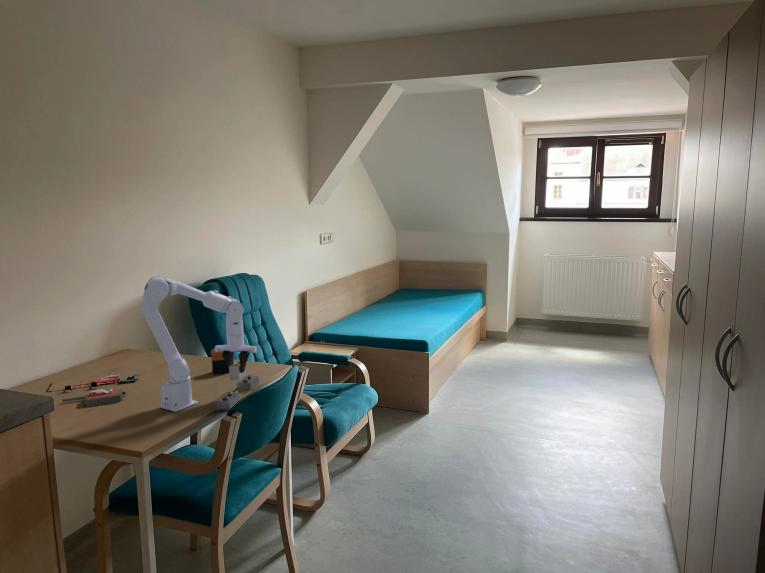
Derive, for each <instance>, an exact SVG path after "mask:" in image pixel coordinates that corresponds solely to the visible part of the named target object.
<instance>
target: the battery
mask: <svg viewBox="0 0 765 573" xmlns="http://www.w3.org/2000/svg"><path fill="white" fill-rule="evenodd" d="M210 350H211V351H210V355H211V368H212V371H211V372H212V374H213V375H220V373H222V374H228V373H229V368H228V366H227V363H226V361H225V360H224V358H223V357H222V354H223V352H222V351H219V352H215V348H213V349H210ZM229 374H230V373H229Z"/></svg>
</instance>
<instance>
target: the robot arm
mask: <svg viewBox="0 0 765 573" xmlns="http://www.w3.org/2000/svg"><path fill="white" fill-rule="evenodd" d="M219 292H220V291H218V290H209V291H206V292H204V291H203V290H201V289H197V288H195V287H193V286H191V285H188V284H185V283H183V282H181V281H178V280H175V279H172V278H167V277H166V278H164V277H163V276H161V275H154V276H152V277H151V278H150V279H148V281H147V283H146V284H145V286H144V289H143V294H142V300H141V304H140V309H141V312H142V314H143V316H144V318H145V320H146V323H147V325H148V326H149V329H150V330H151V333H152V334H153V336H154V339H155V341H156V343H157V345H158V348H159V349H160V350H161V353H162V354H163V357H164V359H165V361H166V363H167V371H168V372H169V373H168V374H169V376H168V378H167V381H166V382H165V383H164V384H162V385H161V386H160V389H159V390H160V392H159V393H160V402H161V403H160V404H161V405H160V408H161V409H163V410H168V411H172V412H178V411H181V410H184V409H187V408H188V407H191V406H194V405H196V404H198V403H199V401H198V400H193V392H192V380H191V375H190V373H191V372H190V367H189V366H188V363H187V362H188V361H187V360H186V359H185V358H184V357H182V356H181V354H180V352H179V351H178V348H177V347H176V344H175V343H174V342H175V341H173V339H172V336H171V334H170V332H169V330H168V328H167V326H166V324H165V321H164V320H163V318H162V316H161V314H160V311H159V309H158V308H159V307H160V305H161V302H162V301H163V300H164V299H165V298H166V297H167V296H168V295H170V296H175V295H182V296H185V297H188V298H191V299H194V300H197V301H201V303H202V304H203V307H206V308H207V309H211V310H213V311H216V312H219V313H223V314H224V313H225V319H226V320H225V329H226V330H225V331H226V332H225V333H226V344H220V345H219V344H218V345H217V344H216V345H215V346H214V349H215V352H219V351H222V352H223V354H222V357H223V358H224V360H225V361H226V363H227V366H228V368H229V366H230V365H231V364H233V363H234V354H235V353H238V354H237V356H238V358H239V359H238V360H240V371H241V373H243V372H245V367H247V361H248V359H249V357H250V354H251V353H253V354H255V353H257V352H258V347H257V345H249V344H245V336H244V335H245V334H244V333H245V332H244V321H243V314H244V313H245V308H244V306H243V304H242V303H241V302H240V301H239V300H238V299H235V298H234V297H232V296H231V295H229V296H226V295H223V294H221V293H219Z"/></svg>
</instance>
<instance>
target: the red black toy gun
mask: <svg viewBox="0 0 765 573" xmlns="http://www.w3.org/2000/svg"><path fill="white" fill-rule="evenodd" d="M136 374H137V375H135V374H133V375H134V376H132V377H128V378H127V380H124V381H120V382H118V381H117V380H116V378H118V377H120V374H118V373H117V374H116V375H110V376H106V377H105V378H106V379H103V378H102V379H100V380H96V381H91V382H88V383H85V384H81V383H80V384H79V385H73V386H81V385H90V384H91V386H90V387H97V388H98V385H97V383H107V382H116V383H117V382H118V383H125V382H132V381H137V380H138V373H136ZM65 390H71V391H72V389H71V385H68V386H65ZM65 390H64V391H65Z"/></svg>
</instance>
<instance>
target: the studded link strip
mask: <svg viewBox="0 0 765 573" xmlns="http://www.w3.org/2000/svg"><path fill="white" fill-rule="evenodd" d="M257 384H258V385H259V384H260V383H259V376H258V375H251V374H250V375H246V376H244V377H243V378H242V379H241V380H238V381H237V382H236V386H237V387H236V388H237V390H236V391H235V392H234V391H233V392H232V391H228V392H224V393H222V395H221V396H219V397H218V398H217V399H215V403H214V404H215V410H220V411H221V410H223V411H226V410H227V411H231V410H232V409H233V408H234V407H235V406H236V405H237V404H238V403H239V402H238V401H239V400H240V399H241V398H243V397H244V398H245V397H246V396H247V395H248V394H249V393H250V392H252V391H253V390H254V389H255V388H256V387H257V386H258V385H257ZM256 385H257V386H256ZM255 386H256V387H255ZM254 387H255V388H254ZM253 388H254V389H253ZM252 389H253V390H252ZM244 398H243V399H244ZM237 402H238V403H237ZM236 403H237V404H236ZM235 404H236V405H235ZM234 405H235V406H234ZM233 406H234V407H233ZM232 407H233V408H232ZM231 408H232V409H231ZM230 409H231V410H230Z"/></svg>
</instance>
